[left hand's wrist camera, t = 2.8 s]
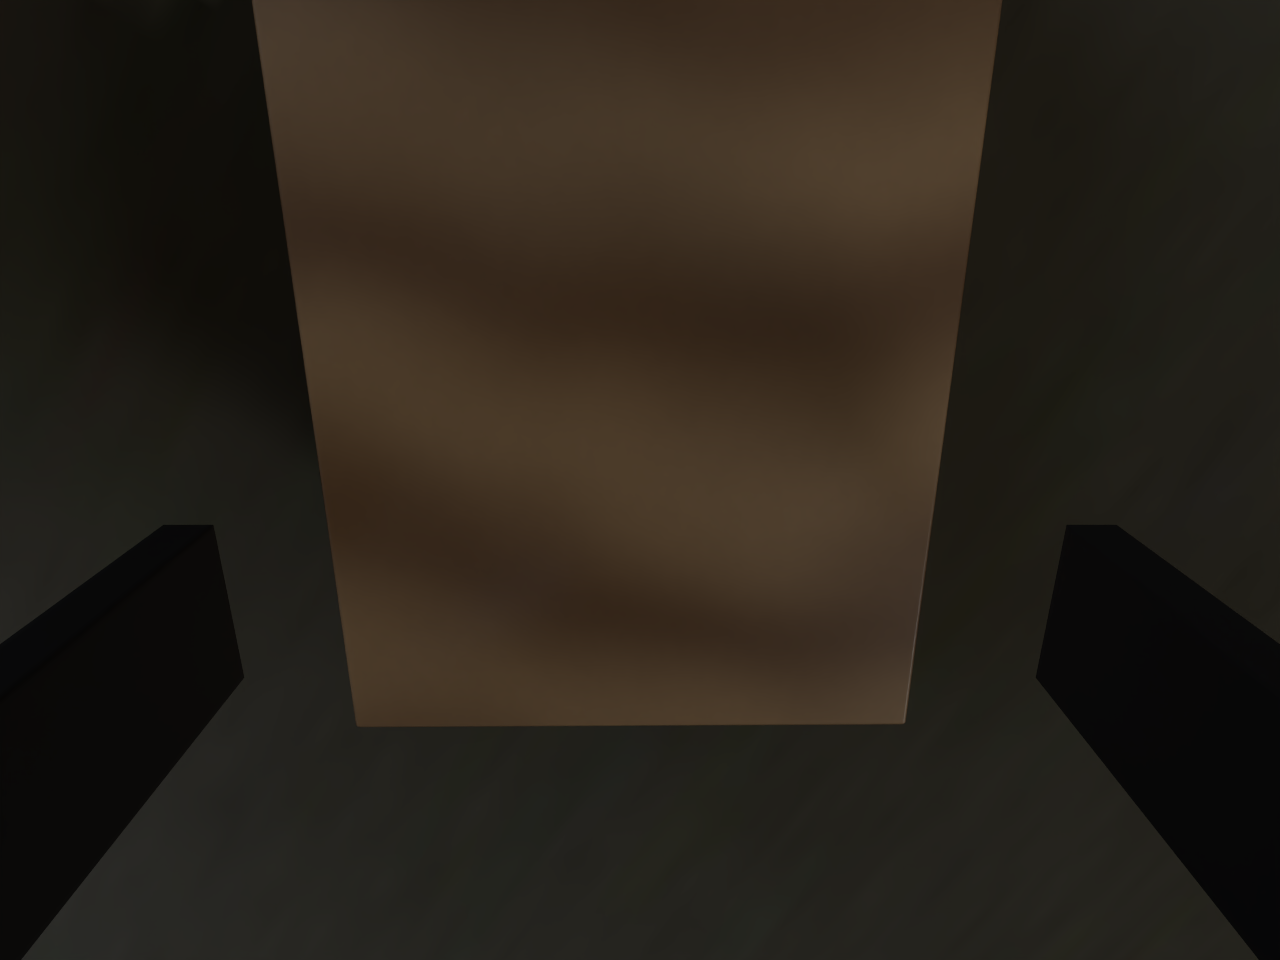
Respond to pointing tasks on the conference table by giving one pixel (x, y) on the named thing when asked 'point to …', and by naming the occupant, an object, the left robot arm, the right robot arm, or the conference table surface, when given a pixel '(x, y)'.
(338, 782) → the conference table surface
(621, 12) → the cabinet
